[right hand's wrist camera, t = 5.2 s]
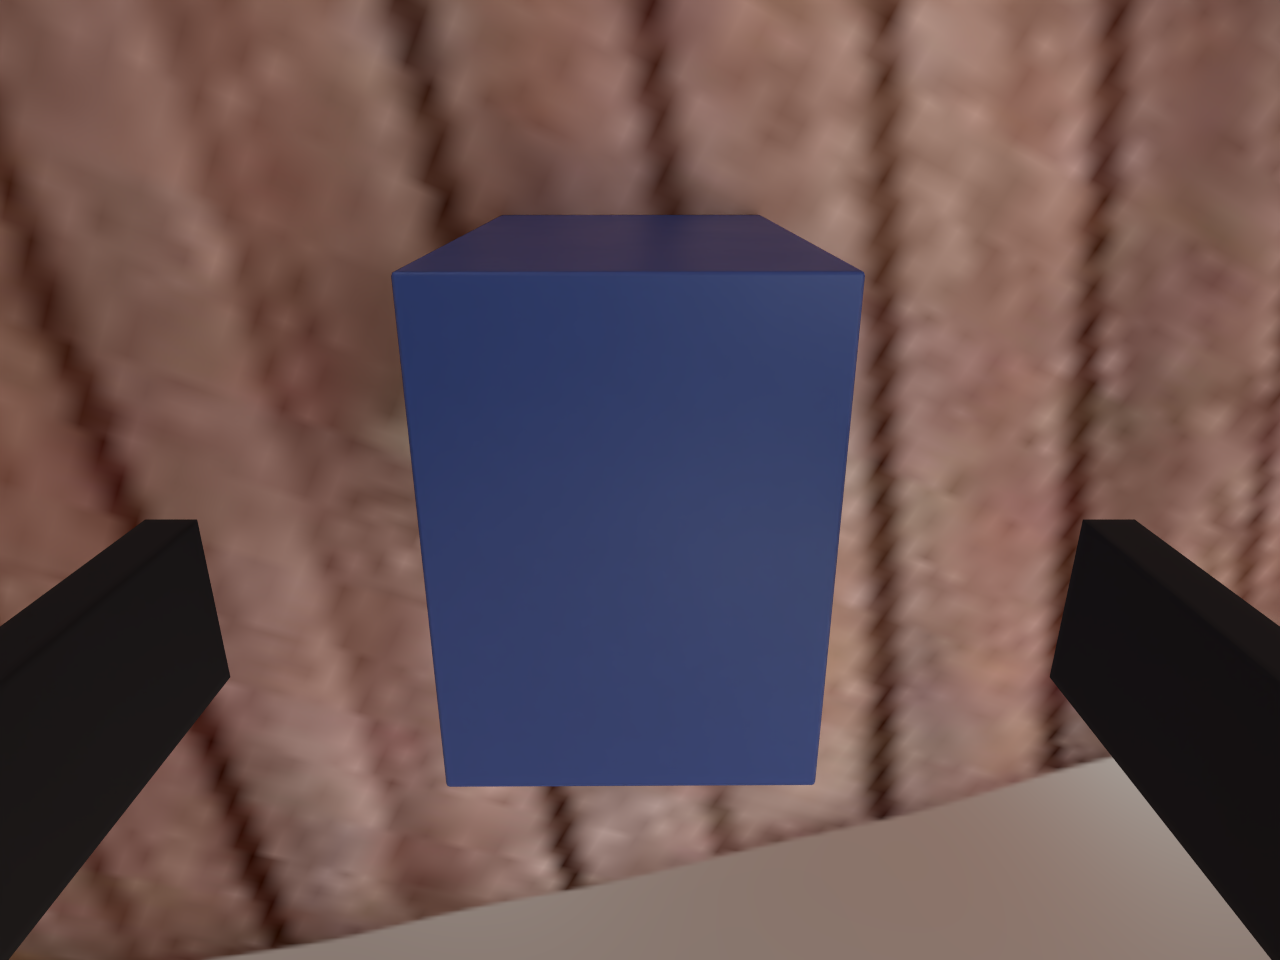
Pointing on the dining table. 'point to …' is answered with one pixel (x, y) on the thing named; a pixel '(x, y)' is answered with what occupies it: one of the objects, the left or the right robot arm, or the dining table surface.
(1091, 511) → the dining table surface
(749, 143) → the dining table surface
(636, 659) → the brick
